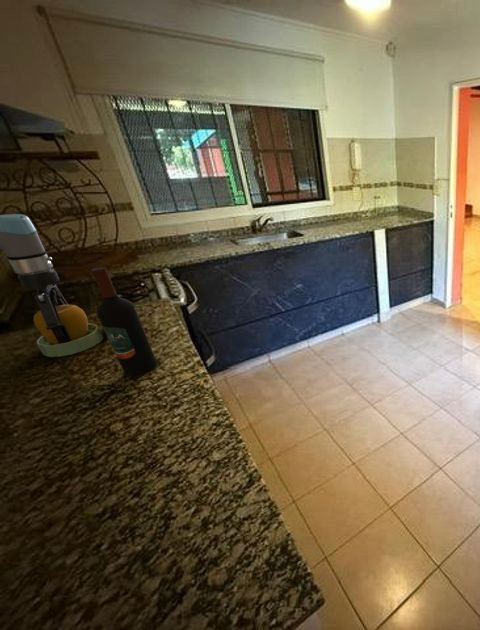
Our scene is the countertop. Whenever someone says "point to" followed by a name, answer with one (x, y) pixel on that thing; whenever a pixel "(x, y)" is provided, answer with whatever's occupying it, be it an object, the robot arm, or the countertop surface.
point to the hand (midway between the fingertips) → (70, 338)
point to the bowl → (71, 343)
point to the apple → (65, 323)
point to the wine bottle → (123, 328)
